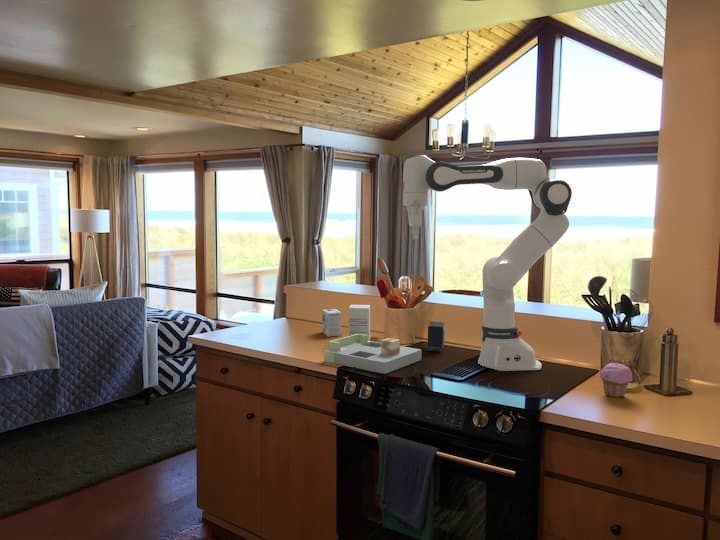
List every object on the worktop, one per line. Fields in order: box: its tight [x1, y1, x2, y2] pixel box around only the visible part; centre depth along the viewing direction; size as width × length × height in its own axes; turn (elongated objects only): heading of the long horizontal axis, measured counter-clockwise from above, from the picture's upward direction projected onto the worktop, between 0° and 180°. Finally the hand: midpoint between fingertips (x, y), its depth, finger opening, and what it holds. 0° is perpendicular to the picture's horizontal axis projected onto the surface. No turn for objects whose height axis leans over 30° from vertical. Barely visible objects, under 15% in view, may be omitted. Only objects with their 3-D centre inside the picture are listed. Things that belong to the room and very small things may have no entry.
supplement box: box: [348, 304, 371, 341], centre depth 250 cm, size 9×9×15 cm
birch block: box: [380, 337, 401, 356], centre depth 210 cm, size 5×5×5 cm
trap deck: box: [323, 334, 422, 375], centre depth 215 cm, size 28×24×7 cm
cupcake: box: [599, 362, 633, 398], centre depth 174 cm, size 9×9×10 cm
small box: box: [426, 320, 446, 353], centre depth 234 cm, size 11×6×10 cm, turn 168°
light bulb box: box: [321, 308, 343, 337], centre depth 263 cm, size 11×7×11 cm, turn 17°
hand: (414, 239), depth 208 cm, fingers open, 8 cm apart
